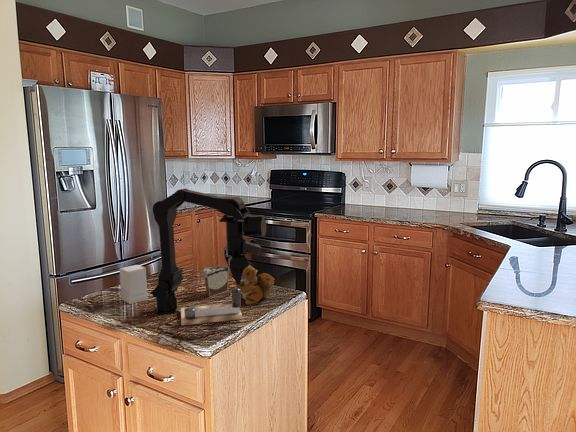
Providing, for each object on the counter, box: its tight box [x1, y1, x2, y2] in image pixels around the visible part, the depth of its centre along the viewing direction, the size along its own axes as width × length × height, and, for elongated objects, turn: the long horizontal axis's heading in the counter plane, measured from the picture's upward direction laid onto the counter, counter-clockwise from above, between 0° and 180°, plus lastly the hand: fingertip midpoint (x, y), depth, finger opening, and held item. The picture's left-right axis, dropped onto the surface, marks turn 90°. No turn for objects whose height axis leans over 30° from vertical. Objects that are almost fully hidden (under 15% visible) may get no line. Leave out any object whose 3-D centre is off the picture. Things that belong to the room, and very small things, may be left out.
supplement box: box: [119, 264, 149, 305], centre depth 170 cm, size 7×7×13 cm
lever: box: [184, 287, 242, 319], centre depth 150 cm, size 19×4×8 cm, turn 104°
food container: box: [201, 265, 231, 298], centre depth 177 cm, size 12×6×10 cm, turn 141°
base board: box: [180, 302, 243, 326], centre depth 154 cm, size 20×12×2 cm, turn 104°
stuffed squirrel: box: [235, 264, 275, 306], centre depth 169 cm, size 10×14×13 cm
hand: (236, 280), depth 151 cm, fingers open, 9 cm apart
